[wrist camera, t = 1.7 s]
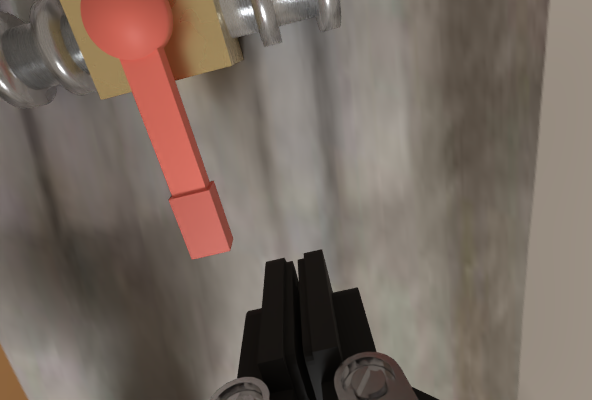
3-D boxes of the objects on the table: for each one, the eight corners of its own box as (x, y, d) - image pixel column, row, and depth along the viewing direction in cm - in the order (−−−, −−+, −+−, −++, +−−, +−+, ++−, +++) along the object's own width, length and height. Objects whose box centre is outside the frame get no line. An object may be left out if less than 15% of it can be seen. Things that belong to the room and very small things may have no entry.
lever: (245, 235, 26) (243, 247, 24) (185, 249, 26) (179, 262, 25) (156, -36, 20) (146, -42, 19) (81, -15, 20) (65, -19, 19)
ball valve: (335, 35, 30) (354, 34, 22) (56, 108, 31) (-24, 132, 23) (314, -74, 27) (327, -121, 19) (11, 11, 29) (-96, 0, 21)
